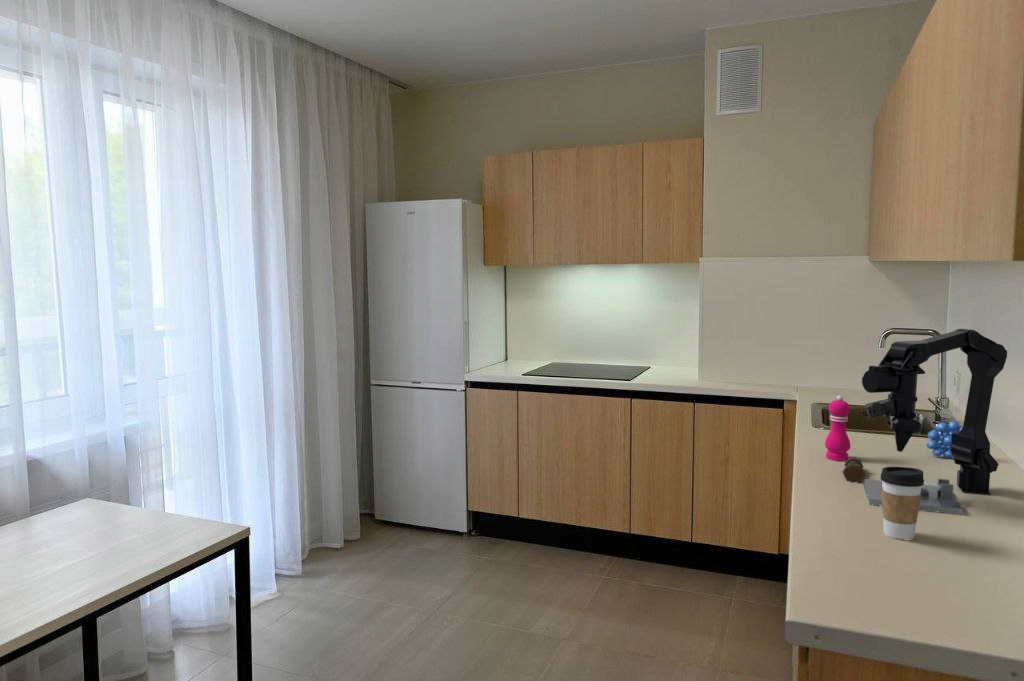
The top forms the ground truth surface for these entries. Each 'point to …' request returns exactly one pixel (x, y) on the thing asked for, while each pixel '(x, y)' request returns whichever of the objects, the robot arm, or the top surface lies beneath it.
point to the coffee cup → (901, 500)
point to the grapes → (942, 438)
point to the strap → (932, 486)
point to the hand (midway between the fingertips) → (899, 451)
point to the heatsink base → (929, 497)
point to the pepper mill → (838, 431)
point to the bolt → (853, 470)
